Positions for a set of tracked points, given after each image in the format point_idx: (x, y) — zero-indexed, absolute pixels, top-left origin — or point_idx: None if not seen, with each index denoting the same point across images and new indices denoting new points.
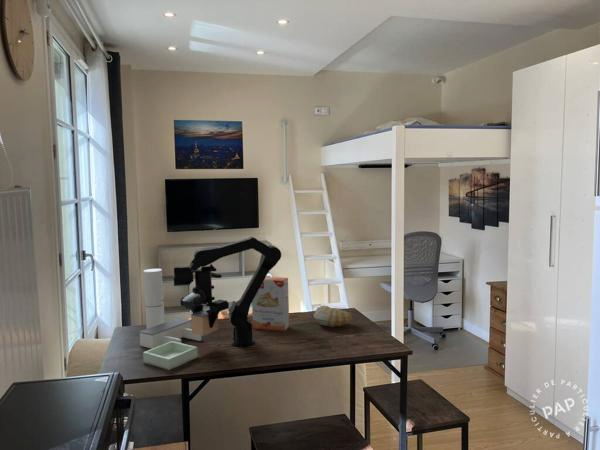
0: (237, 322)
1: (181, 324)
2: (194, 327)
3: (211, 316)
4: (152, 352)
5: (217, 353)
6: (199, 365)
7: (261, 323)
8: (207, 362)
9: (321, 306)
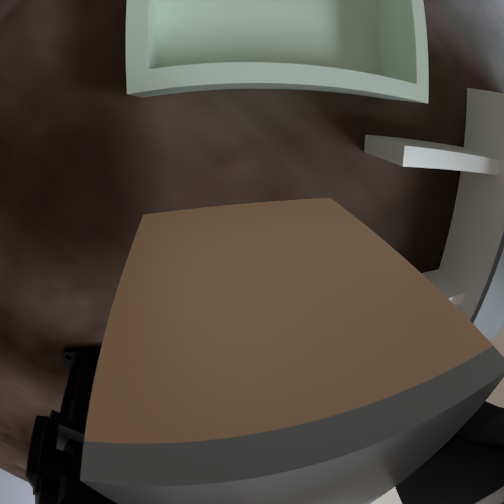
0: (38, 461)
1: (480, 301)
2: (315, 235)
3: (67, 494)
4: None
5: (92, 226)
6: (37, 35)
7: None
8: (28, 93)
9: None
